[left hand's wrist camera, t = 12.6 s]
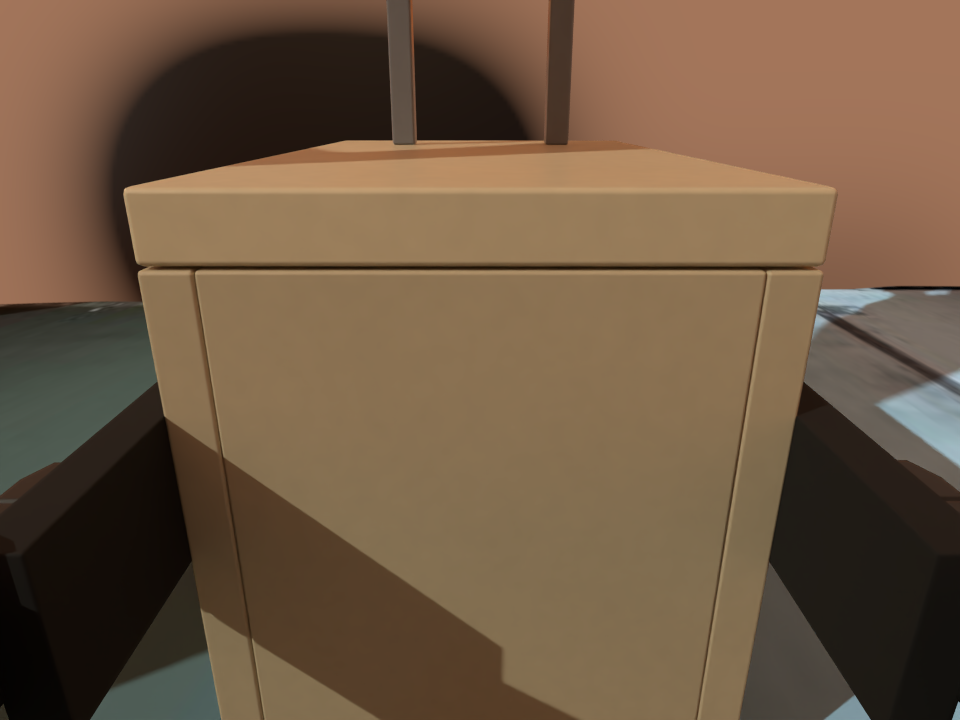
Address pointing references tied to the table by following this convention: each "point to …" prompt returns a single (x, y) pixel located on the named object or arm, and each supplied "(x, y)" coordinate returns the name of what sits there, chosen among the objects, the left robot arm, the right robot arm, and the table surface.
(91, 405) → the table surface
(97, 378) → the table surface
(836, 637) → the left robot arm
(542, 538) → the chest
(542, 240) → the lid
